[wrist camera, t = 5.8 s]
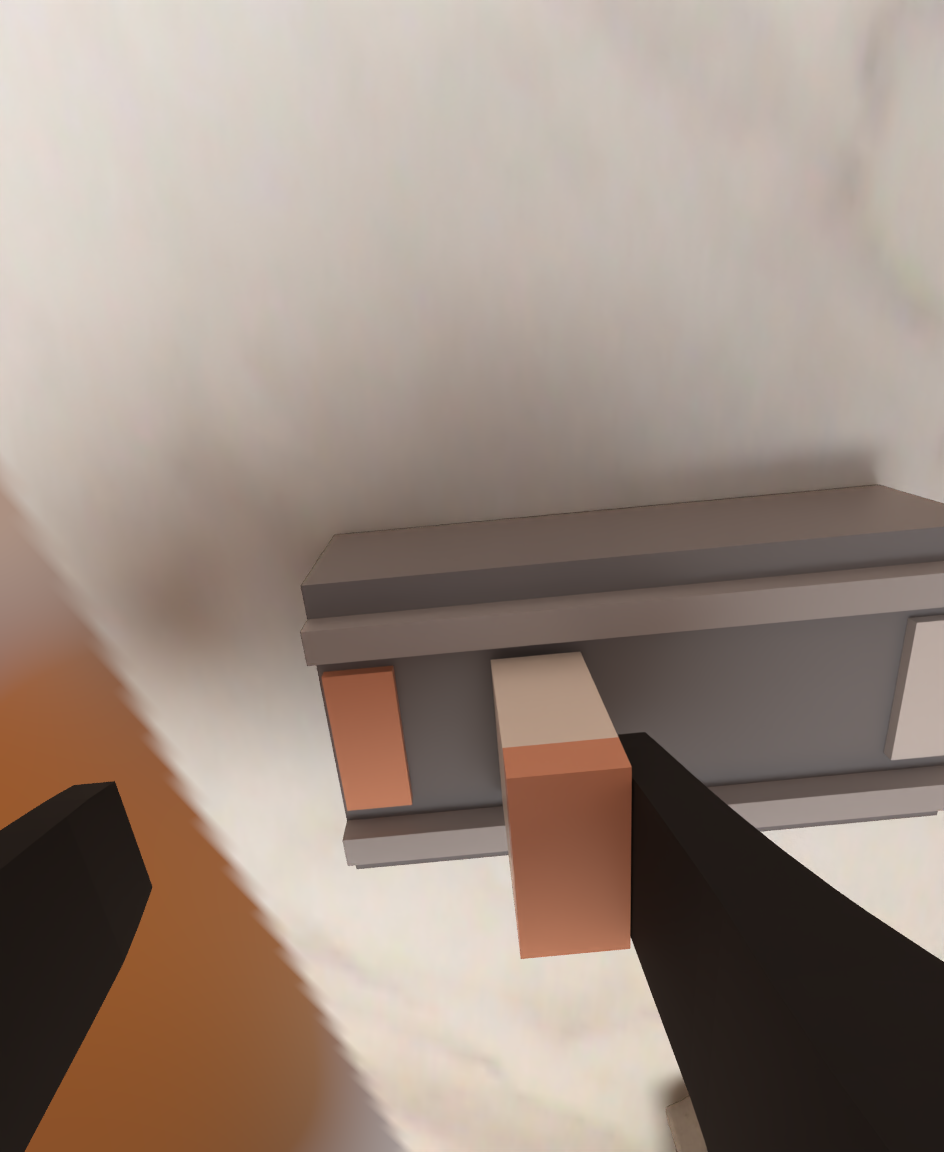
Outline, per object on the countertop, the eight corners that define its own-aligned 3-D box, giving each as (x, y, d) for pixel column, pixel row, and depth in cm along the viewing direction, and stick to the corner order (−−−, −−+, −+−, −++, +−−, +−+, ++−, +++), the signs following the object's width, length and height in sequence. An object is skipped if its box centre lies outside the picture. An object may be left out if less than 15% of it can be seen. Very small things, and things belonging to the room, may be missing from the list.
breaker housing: (879, 484, 13) (1031, 529, 9) (842, 726, 15) (957, 833, 11) (334, 534, 12) (293, 597, 9) (374, 770, 15) (352, 890, 11)
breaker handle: (580, 651, 10) (631, 767, 7) (583, 797, 11) (630, 948, 8) (490, 660, 10) (506, 778, 7) (503, 804, 11) (521, 959, 8)
